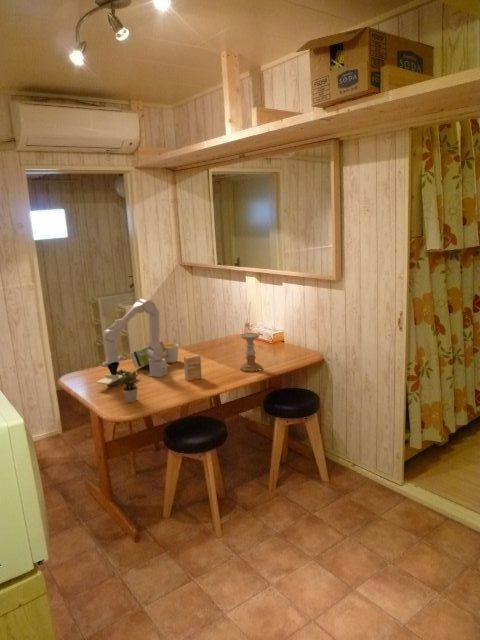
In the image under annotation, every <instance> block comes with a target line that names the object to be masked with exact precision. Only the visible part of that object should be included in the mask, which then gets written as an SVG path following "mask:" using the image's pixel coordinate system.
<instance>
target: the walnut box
mask: <svg viewBox="0 0 480 640" xmlns="http://www.w3.org/2000/svg"><path fill="white" fill-rule="evenodd" d="M119 371H120V372H121V373H122V374H123V375H124V377H126V376H125V371H126V372H127V373H128V375H129V373H130V372H131V373H130V376H129V378H130V381H131V378H132V377H133V374H134V372H135V375H137V373H136V372H137V371H136V370H133V371H130V372H129V371H127V370H125V371H124V369H122V368H121V369H118V371H117V374H116V375H122V374H121V373H120V372H119ZM135 375H134V376H135ZM124 377H123V378H124ZM123 378H120V379H119V380H117V381H115V382H113V383H111V384H109V386H110V385H111V386H117V387H119V385H120V384H123V385H121V386H120V387H122V386H123V387H124V386H126V385H125V384H124V383H123V382H121V380H124V379H123ZM134 378H135V377H134ZM135 380H137V377H136V378H135Z"/></svg>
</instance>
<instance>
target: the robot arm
mask: <svg viewBox="0 0 480 640" xmlns="http://www.w3.org/2000/svg"><path fill="white" fill-rule="evenodd" d="M144 312H145V313H146V314H147V315H148V316H149V319H148V320H149V343H148V344H147V347H148V349H147V351H146V353H147V355H148V356H149V364H148V365H149V366H148V367H149V368H148V369H149V373H148V374H146V376H149V377H155V378H156V377H157V378H162V377H164V376H165V375H167V374H169V372H168V366H167V365H168V364H167V362H166V361H165V359H162V357H163V352H162V347H161V345H160V343H159V342H160V311H159V309H158V308H157V305H156V303H155V302H153V301H152V300H151V299H150V300H149V299H146V298H144V297H141V298H139V299H138V300H137V301H136V302H135V303H134V304H133V305H132V307H131V308H130V309H129V310H128V311H127V312H126V313H125V314H124V316H123V317H122V318H118V319H115V320H114V323H112V325H111V326H109V327H108V328H107V329H105V330H104V331H103V332H102V338H103V339H104V345H105V347H104V348H105V356H106V358H105V361H103V362H101V367H102V368H107V369H108V370H109V373H110V374H112V375H116V374H117V370H119V369H118V368H119V366H120V362H119V361H120V360H121V361H123V360H124V359H123V358H124V356H123V355H118V348H117V346H118V345H117V339H118V336H119V334H121V333H122V331H124V329H125V328H126V327H127V323H128V322H130V321H131V319H133V318H134V317H135V316H136V315H137V314H140V313H144Z"/></svg>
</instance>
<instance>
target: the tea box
mask: <svg viewBox="0 0 480 640" xmlns="http://www.w3.org/2000/svg"><path fill="white" fill-rule="evenodd" d="M159 343H160V345H161V347H162V352H163V357H162V360H164V359H165V357H168V355H167V352H166V350H165V347H164V342H163V341H159ZM147 349H148V346H144V347H142V348H140V349H138V350H134V351H132V352H130V353H129V355H130V357H131V360H132V363H133V367H134V368H135V369H138V368H139V369H140V368H141V367H145V366H148V365H149V356H148V355H147V353H146V351H147Z"/></svg>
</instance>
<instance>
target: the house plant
mask: <svg viewBox="0 0 480 640" xmlns="http://www.w3.org/2000/svg"><path fill="white" fill-rule="evenodd" d="M117 371H119V369H117ZM123 371H125V376H126V377H124V375H123V374H122V373H121V372H120V371H119V372H120V373H121V374H122V376H123V377H124V378H123V377H122V378H123V379H124V380H121V382H123V383H124V384H125V385H123V384H120V385H119V386H118V388H120V387H122V386H121V385H123V388H122V390H123V391H122V392H123V394H124V395H123V396H124V399H125V401H126V402H127V403H132V402H133V403H134V402H135V401H137V398H138V386H136V385H137V384H138V383H141V380H139V379H137V377H138V375H140V373H141V372H142V371H143V370H141V371H139V372H138V373H136V375H135V372H134V371H133V372H134V374H133V377H132V378H131V381H130V378H129V376H130V373H131V372H132V371H131V370H129V371H128V372H130V373H129V375H128V373H127V372H126V371H127V370H125V369H123ZM134 375H135V376H134ZM115 377H118V376H115ZM134 377H135V378H136V379H135V378H134Z"/></svg>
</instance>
